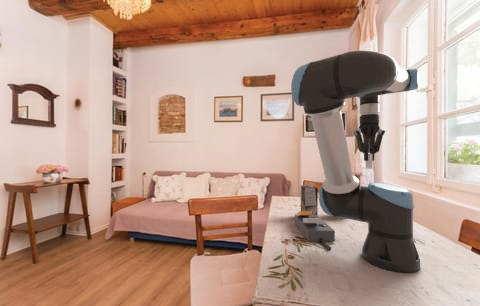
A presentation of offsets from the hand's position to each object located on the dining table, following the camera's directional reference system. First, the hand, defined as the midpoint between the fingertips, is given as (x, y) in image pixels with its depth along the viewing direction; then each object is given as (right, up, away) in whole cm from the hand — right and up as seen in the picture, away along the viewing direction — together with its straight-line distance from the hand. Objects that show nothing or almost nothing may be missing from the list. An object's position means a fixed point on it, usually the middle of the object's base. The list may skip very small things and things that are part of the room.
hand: (368, 168), depth 101 cm
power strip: (-26, -26, -8) cm, 38 cm away
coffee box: (-22, -27, +15) cm, 38 cm away
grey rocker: (-28, -21, -9) cm, 36 cm away
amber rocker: (-28, -20, +1) cm, 35 cm away
